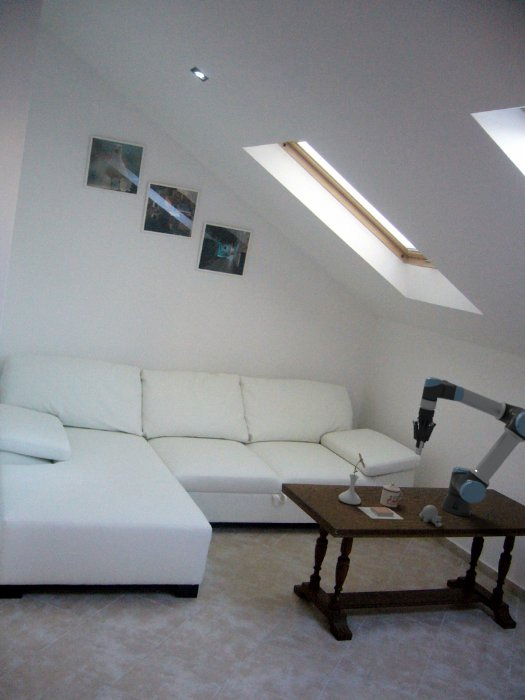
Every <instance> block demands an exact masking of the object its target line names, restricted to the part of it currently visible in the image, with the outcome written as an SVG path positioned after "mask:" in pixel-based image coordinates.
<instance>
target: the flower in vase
mask: <svg viewBox="0 0 525 700" xmlns="http://www.w3.org/2000/svg"><path fill="white" fill-rule="evenodd" d="M358 457H359V460H358V462H357V463H356V465H355V466H354V471H352V474H351V473H350V474H348V476H349V478H350V485H349V488H348V489H347V490H346V491H343V492H342V493H340V494H339V495H338V496H337V497H338V500H339V501H341V502H342V503H344V504H348V505H360V503H361V502H362V499H361V498H360V496H359V495H358V494H357V493H356V491H355V485H356V483H357V481H358V479H359V478H360V476H359V475H357V474H356V473H358V470H357V466H358V465H359V463H361V465H362V467H363V468H364V469H365V468H366V464H365V463H364V458H362V454H361V452H359V453H358Z"/></svg>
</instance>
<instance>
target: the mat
mask: <svg viewBox="0 0 525 700" xmlns="http://www.w3.org/2000/svg"><path fill="white" fill-rule="evenodd" d="M370 507H371V506H370ZM370 507H368V506H367V507H366V506H365V507H364V506H357V508H358V509H359V510H360V511H362V512H363V513H364V514H366V515H367V516H368V517H370V519H376V520H377V519H382V520H404V518H403V517H402V516H400V515H399V514H398V513H396V512H395V511H394V510H392V509H390V507H387V508H388V509H389V510H390V511H392V512H393V513H394V515H393V516H377V515H376V514H374V513H373V512H372V511H371V510H370Z"/></svg>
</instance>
